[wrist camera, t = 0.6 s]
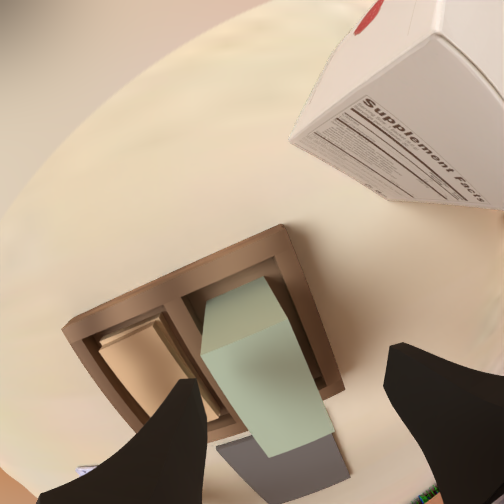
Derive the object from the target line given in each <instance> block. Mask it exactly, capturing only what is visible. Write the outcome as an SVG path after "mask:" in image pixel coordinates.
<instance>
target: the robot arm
mask: <svg viewBox="0 0 504 504" xmlns="http://www.w3.org/2000/svg"><path fill="white" fill-rule="evenodd" d="M383 387H384V389H385V391H386V394H387V396H388V398H389V400H390V402H391V404H392V406H393V407H394V409H395V410H396V412H397V413H398V415H399V416H400V418H401V419H402V421H403V422H404V424H405V425H406V427H407V428H408V429H409V431H410V432H411V434H412V435H413V437H414V438H415V440H416V441H417V443H418V444H419V446H420V448H421V449H422V451H423V453H424V455H425V457H426V459H427V461H428V464H429V466H430V468H431V470H432V473H433V475H434V478H435V480H436V482H437V485H438V488H439V491H440V494H441V497H442V500H443V504H504V376H500V375H494V374H489V373H485V372H481V371H477V370H473V369H470V368H467V367H464V366H461V365H458V364H456V363H453V362H450V361H448V360H445V359H443V358H440V357H438V356H436V355H433V354H431V353H429V352H426V351H424V350H422V349H419V348H417V347H414V346H412V345H409V344H406V343H403V342H402V343H398V344H395V345H391V346H390V347H389V354H388V361H387V367H386V373H385V379H384V384H383ZM207 441H208V435H207V415H206V412H205V408H204V405H203V401H202V397H201V394H200V390H199V386H198V382H197V378H188V379H179V380H178V381H177V383H176V384H175V386H174V387H173V388H172V390H171V391H170V393H169V394H168V396H167V397H166V398H165V400H164V401H163V402H162V404H161V405H160V406H159V408H158V409H157V410H156V412H155V413H154V414H153V415H152V417H151V418H150V419H149V420H148V421H147V422H146V424H145V425H144V426H143V427H142V428H141V429H140V430H139V431H138V433H137V434H136V435H135V436H134V437H133V438H132V439H131V440H130V441H129V442H128V443H127V444H125V445H124V446H123V447H122V448H121V449H120V450H119V451H118V452H116V453H115V454H114V455H112V456H111V457H110V458H108V459H107V460H106V461H104V462H103V463H101V464H100V465H99V466H94V467H78V468H76V469H75V471H76V472H77V473H78V474H79V475H80V476H79V478H77V479H75V480H73V481H71V482H69V483H67V484H64V485H62V486H59V487H57V488H54V489H52V490H49V491H47V492H44V493H41V494H40V496H39V498H38V500H37V503H36V504H202V486H203V477H204V468H205V459H206V450H207Z"/></svg>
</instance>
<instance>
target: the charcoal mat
mask: <svg viewBox="0 0 504 504" xmlns="http://www.w3.org/2000/svg"><path fill="white" fill-rule="evenodd" d="M216 450H217V451H218V452H219V454H220V455H221V456H222V457H223V458H224V459H225V460H226V461H227V463H228V464H229V465H230V466H231V467H232V468H233V469H234V470H235V471H236V472H237V473H238V474H239V475H240V476H241V477H242V478H243V479H244V481H245V482H246V483H247V484H248V485H249V486H250V487H251V488H252V489H253V490H254V491H255V492H257V493H258V494H259V495H260V496H261V497H262V498H263V499H264V500H265V501H266V502H267V503H268V504H282V503H285V502H288V501H292V500H295V499H298V498H301V497H303V496H306V495H309V494H312V493H315V492H317V491H320V490H322V489H325V488H327V487H330V486H332V485H335V484H337V483H339V482H342V481H344V480H346V479H348V478H350V475H349V472H348V470H347V468H346V466H345V463H344V461H343V459H342V456H341V454H340V452H339V449H338V447H337V445H336V442H335V440H334V438H333V435H332V433H331V434H328V435H326V436H324V437H322V438H319V439H317V440H315V441H312V442H310V443H308V444H305V445H303V446H300V447H298V448H295V449H292V450H290V451H287V452H284V453H282V454H279V455H276V456H273V457H270V458H269V457H268V456H267V455H266V453H265V452H264V451H263V449H262V448H261V447H260V445H259V444H258V443H257V441H256V440H255V438H254V437H253V436H249V437H246V438H243V439H240V440H236V441H233V442H230V443H226V444H223V445H220V446H216Z"/></svg>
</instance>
